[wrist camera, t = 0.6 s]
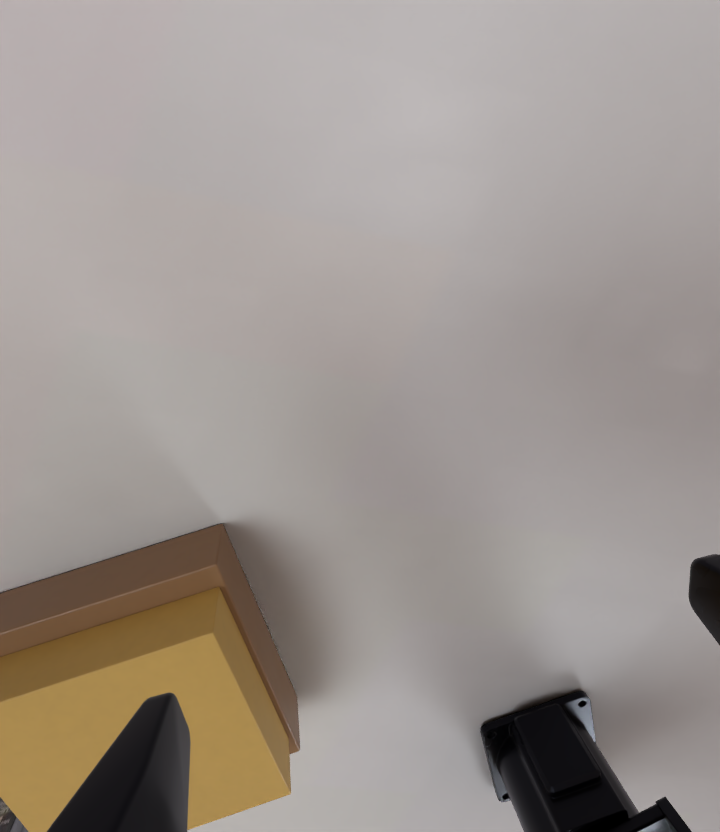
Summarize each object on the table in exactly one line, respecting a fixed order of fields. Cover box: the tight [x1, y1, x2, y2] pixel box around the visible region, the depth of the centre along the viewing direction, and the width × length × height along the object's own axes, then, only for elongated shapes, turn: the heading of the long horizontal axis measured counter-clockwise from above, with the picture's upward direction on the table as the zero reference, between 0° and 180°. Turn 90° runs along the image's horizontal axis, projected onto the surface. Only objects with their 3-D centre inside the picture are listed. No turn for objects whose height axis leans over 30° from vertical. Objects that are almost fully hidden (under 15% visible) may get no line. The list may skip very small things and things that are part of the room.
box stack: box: [0, 524, 300, 832], centre depth 22 cm, size 11×10×6 cm
